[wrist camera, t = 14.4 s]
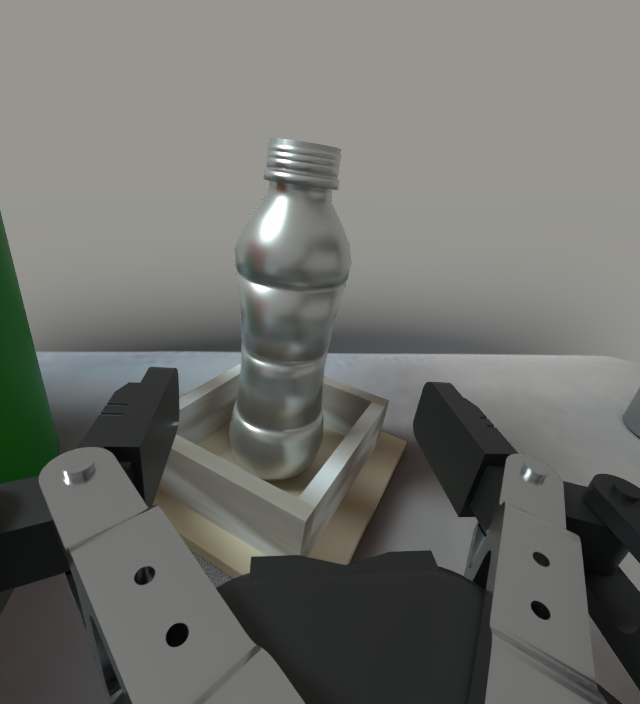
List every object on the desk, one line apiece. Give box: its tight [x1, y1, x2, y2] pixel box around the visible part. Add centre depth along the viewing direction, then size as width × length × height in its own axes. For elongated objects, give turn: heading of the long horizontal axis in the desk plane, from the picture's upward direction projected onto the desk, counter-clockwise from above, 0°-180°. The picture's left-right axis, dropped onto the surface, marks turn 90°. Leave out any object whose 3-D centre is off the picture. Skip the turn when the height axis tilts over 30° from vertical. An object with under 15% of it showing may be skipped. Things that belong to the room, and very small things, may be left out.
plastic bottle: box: [229, 138, 351, 481], centre depth 22 cm, size 6×7×20 cm
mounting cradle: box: [152, 363, 407, 579], centre depth 26 cm, size 16×16×5 cm
